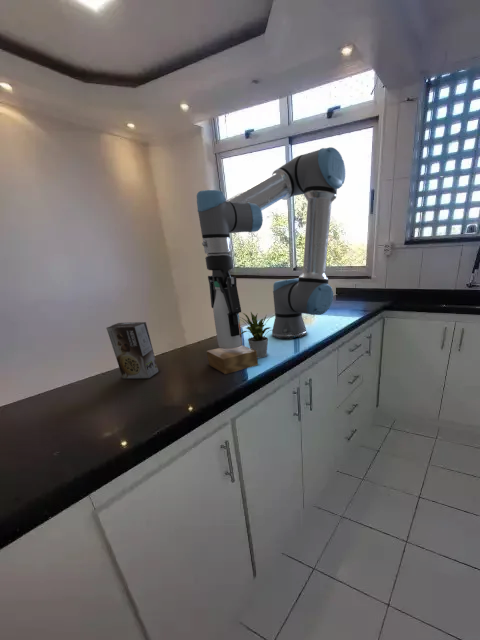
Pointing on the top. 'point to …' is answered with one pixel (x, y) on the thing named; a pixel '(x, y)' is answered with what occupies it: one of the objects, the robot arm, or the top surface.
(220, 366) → the oak block
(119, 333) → the food box
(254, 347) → the house plant
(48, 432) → the top surface
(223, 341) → the milk bottle
